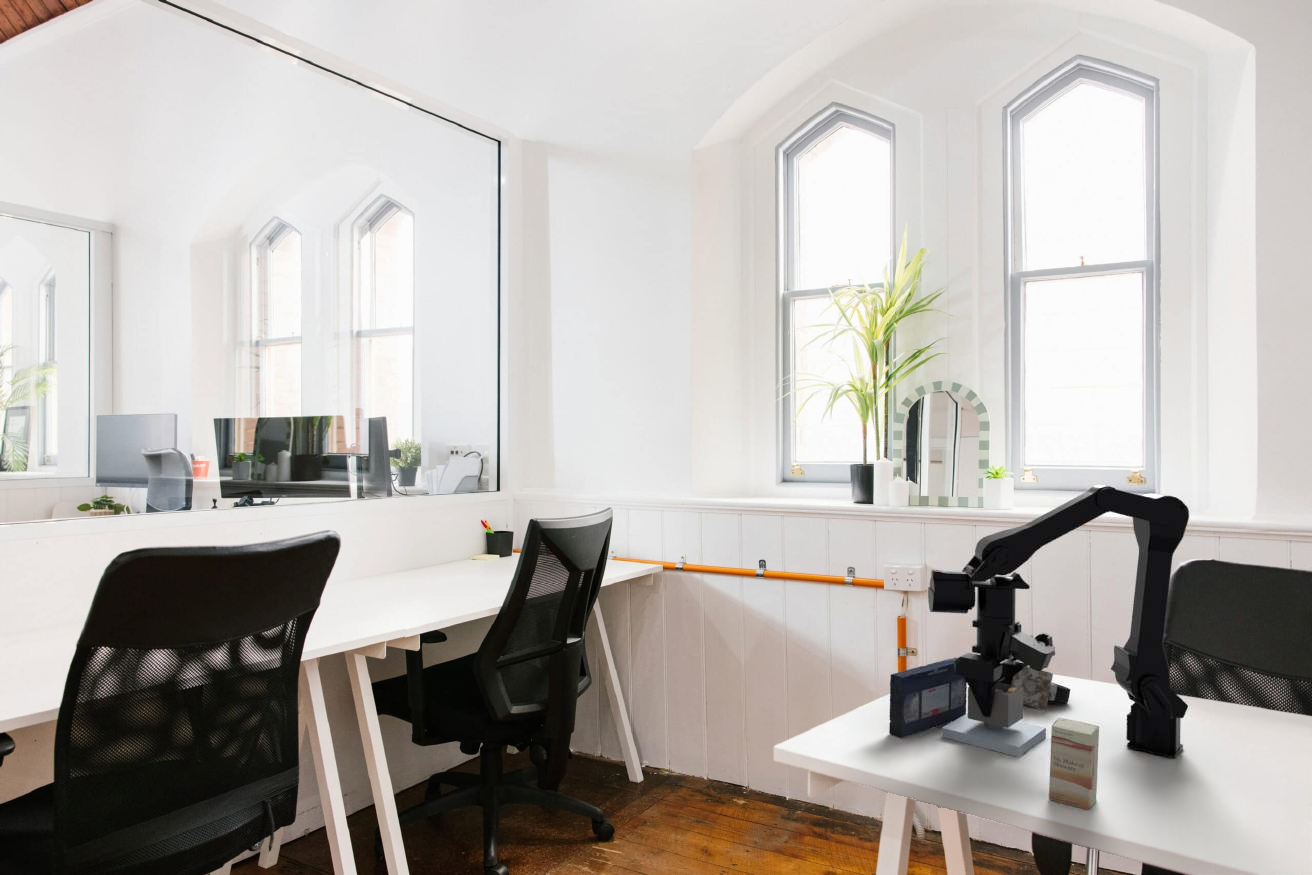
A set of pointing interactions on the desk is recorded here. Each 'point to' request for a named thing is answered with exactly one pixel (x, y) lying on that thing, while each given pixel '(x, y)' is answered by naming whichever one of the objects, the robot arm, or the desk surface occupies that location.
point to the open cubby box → (1000, 706)
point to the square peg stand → (995, 735)
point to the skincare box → (1074, 763)
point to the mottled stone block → (1040, 688)
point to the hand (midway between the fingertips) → (994, 711)
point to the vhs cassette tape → (926, 698)
